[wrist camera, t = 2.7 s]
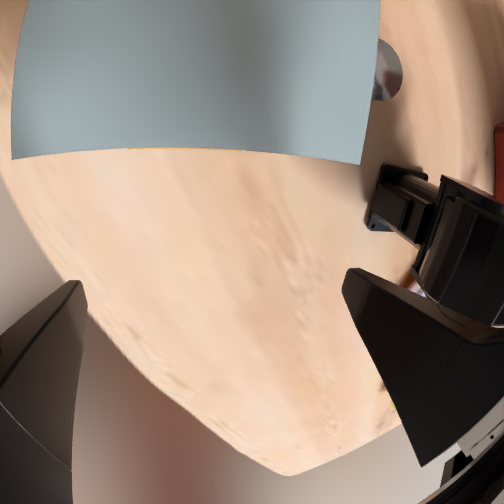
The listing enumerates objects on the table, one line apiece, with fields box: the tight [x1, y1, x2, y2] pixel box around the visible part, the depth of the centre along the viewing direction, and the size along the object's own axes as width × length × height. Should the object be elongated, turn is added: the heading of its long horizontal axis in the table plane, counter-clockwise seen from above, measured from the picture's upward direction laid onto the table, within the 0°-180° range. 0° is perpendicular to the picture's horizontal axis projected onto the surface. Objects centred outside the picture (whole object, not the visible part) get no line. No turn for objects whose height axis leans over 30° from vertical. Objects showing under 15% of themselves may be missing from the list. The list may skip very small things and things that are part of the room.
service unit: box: [11, 0, 380, 165], centre depth 11 cm, size 15×9×10 cm, turn 83°
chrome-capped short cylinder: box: [371, 38, 403, 100], centre depth 16 cm, size 4×4×5 cm
